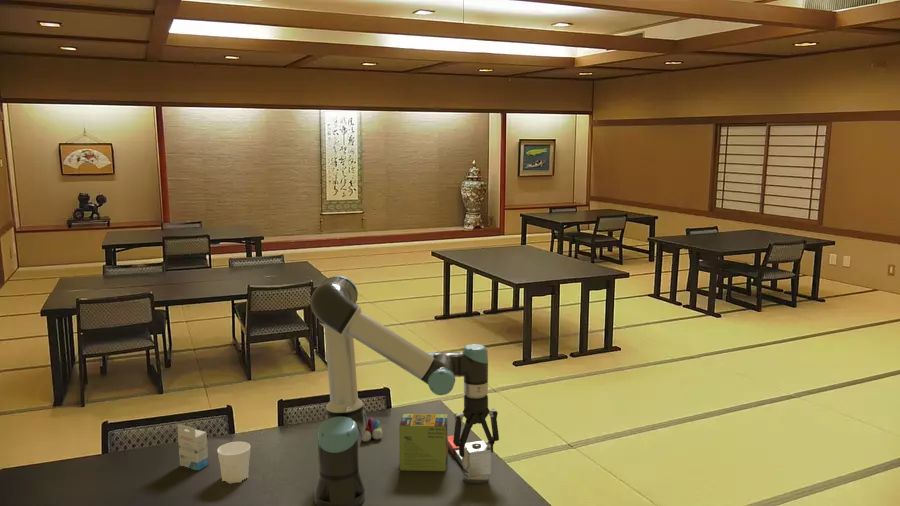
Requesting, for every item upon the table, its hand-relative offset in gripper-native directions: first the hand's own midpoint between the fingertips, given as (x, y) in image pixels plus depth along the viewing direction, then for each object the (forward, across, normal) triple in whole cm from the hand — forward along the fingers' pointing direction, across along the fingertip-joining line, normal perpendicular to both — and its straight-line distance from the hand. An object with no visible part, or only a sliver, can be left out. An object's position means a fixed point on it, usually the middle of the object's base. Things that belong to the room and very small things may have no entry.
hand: (476, 463), depth 217 cm
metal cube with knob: (+2, 0, 0) cm, 2 cm away
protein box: (+5, -13, +15) cm, 20 cm away
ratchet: (+5, 0, +12) cm, 12 cm away
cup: (+5, -73, +24) cm, 77 cm away
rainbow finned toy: (+5, -27, +42) cm, 50 cm away
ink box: (+5, -86, +36) cm, 94 cm away
